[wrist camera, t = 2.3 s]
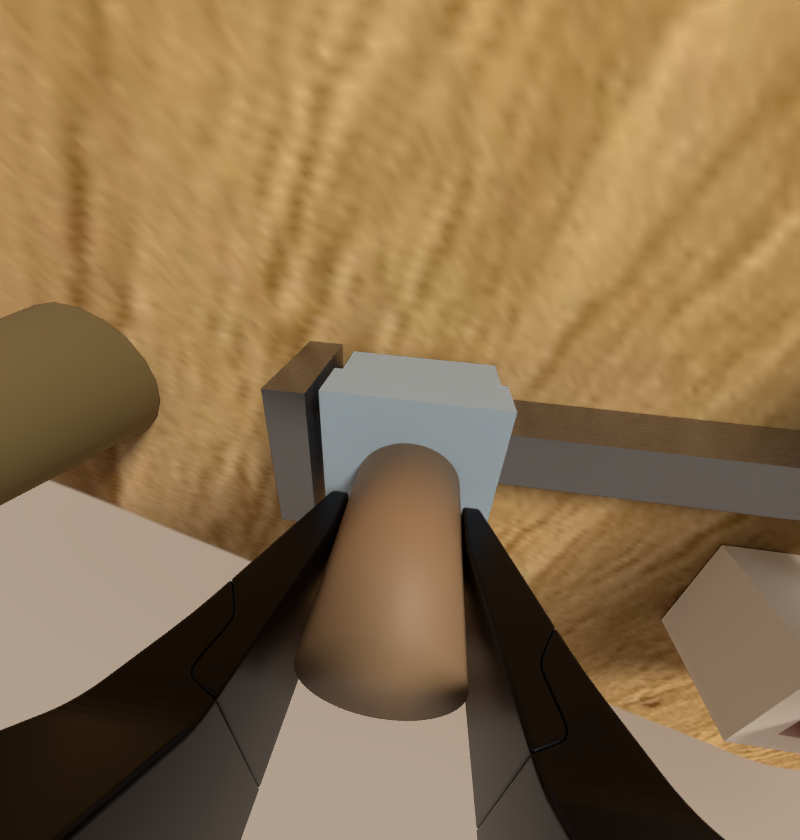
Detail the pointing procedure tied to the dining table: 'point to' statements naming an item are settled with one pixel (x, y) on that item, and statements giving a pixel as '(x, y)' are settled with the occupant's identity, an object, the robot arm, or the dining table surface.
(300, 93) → the dining table surface
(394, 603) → the carriage
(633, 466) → the rail
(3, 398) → the olive pepper mill
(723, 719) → the socket block
